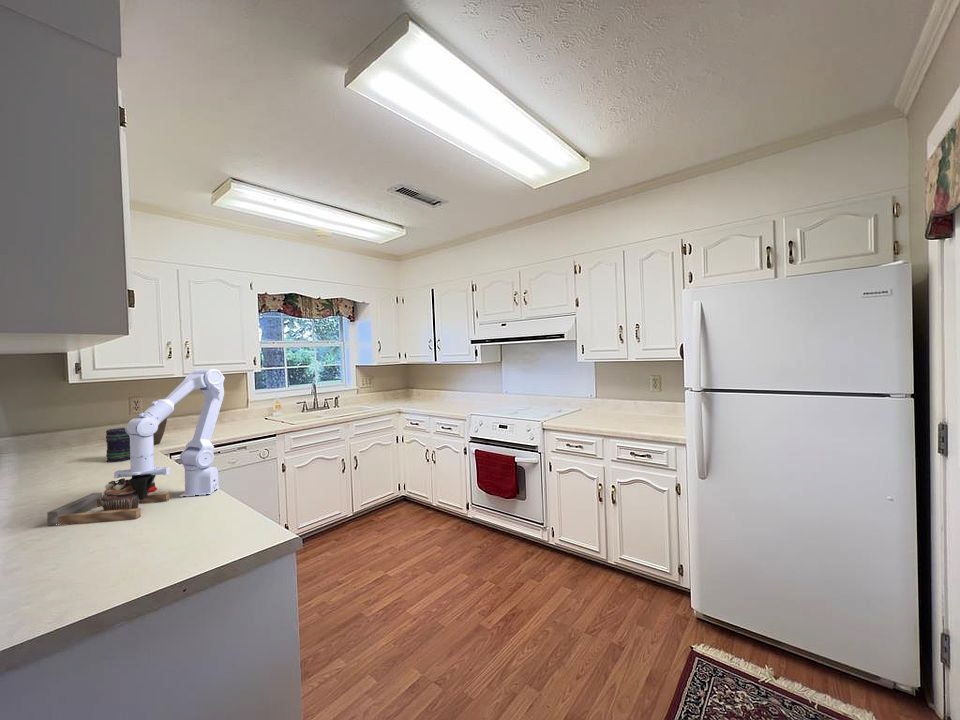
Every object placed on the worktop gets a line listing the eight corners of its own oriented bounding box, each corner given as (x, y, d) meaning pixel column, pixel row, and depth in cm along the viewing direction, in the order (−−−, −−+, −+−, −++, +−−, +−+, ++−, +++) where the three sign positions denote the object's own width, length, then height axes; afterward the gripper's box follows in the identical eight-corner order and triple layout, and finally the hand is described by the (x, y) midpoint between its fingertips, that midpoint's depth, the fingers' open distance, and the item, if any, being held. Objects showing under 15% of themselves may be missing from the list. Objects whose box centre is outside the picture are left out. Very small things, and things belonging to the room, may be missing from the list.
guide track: (169, 499, 136) (169, 487, 136) (136, 518, 120) (136, 505, 120) (93, 505, 132) (93, 493, 132) (47, 526, 116) (47, 512, 116)
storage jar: (111, 458, 199) (111, 428, 199) (136, 456, 203) (136, 427, 203) (102, 463, 190) (101, 431, 190) (128, 461, 194) (128, 430, 194)
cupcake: (149, 505, 131) (148, 474, 131) (123, 516, 121) (122, 483, 121) (120, 505, 131) (119, 475, 131) (91, 517, 121) (90, 484, 121)
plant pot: (174, 441, 240) (174, 415, 240) (150, 447, 225) (150, 418, 225) (152, 441, 242) (152, 415, 242) (127, 447, 228) (127, 418, 228)
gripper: (106, 460, 122) (107, 505, 122) (160, 457, 125) (161, 501, 125) (122, 455, 129) (123, 497, 129) (173, 452, 132) (174, 493, 132)
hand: (143, 498), depth 127 cm, fingers closed
